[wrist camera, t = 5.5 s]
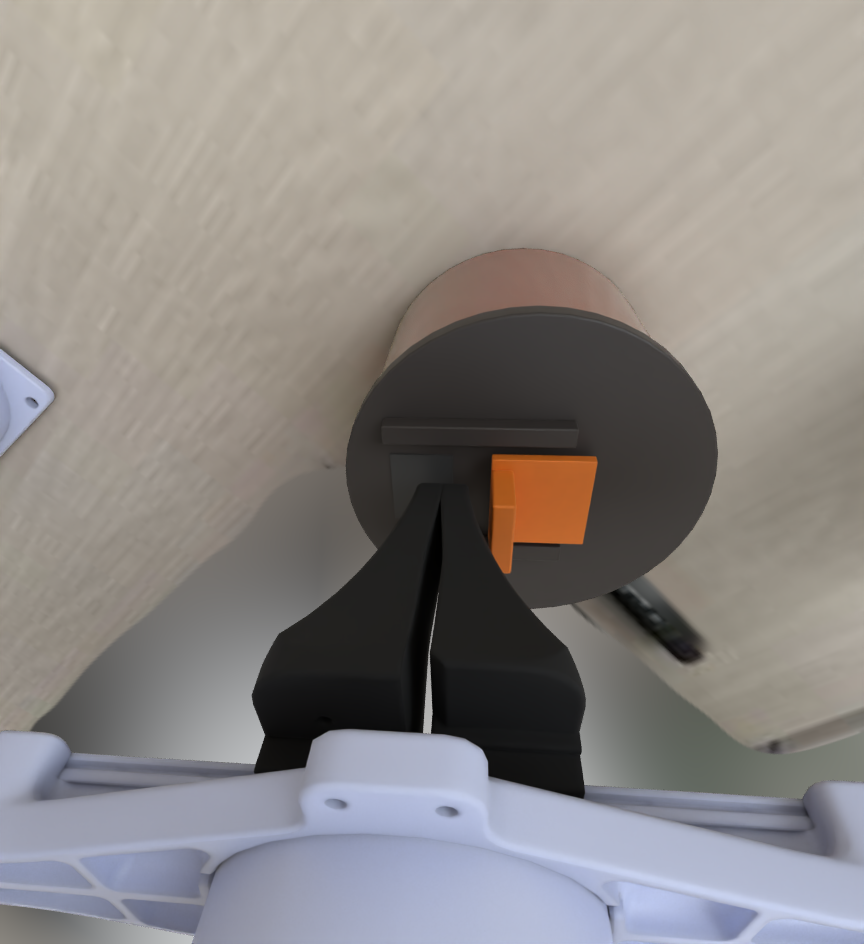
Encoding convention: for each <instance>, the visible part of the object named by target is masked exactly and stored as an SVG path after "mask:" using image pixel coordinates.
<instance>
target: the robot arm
mask: <svg viewBox="0 0 864 944" xmlns="http://www.w3.org/2000/svg"><path fill="white" fill-rule="evenodd" d="M32 398H33V399H35V400H36V402H37V403H36V402H35V401H34V400H33V399H32ZM53 400H54V393H53V392H52V390H51V389H50V388H49V387H48V386H47V385H46V384H44V383H43V382H42V381H41V380H39V379H38V378H37V377H35V376H34V375H33V374H32V373H30V372H29V371H28V370H27V369H25V368H24V367H23V366H22V365H20V364H19V363H18V362H17V361H15V360H14V359H13V358H11V357H10V356H9V355H8V354H6V353H5V352H4V351H3V350H1V349H0V457H1V456H2V455H3V453H4V452H5V451H6V450H7V449H8V448H9V447H10V446H11V445H12V444H13V443H14V442H15V441H16V440H17V439H18V438H19V437H20V436H21V434H22V433H23V432H24V431H25V430H26V429H27V428H28V427H29V426H30V425H31V424H32V423H33V422H34V421H35V420H36V419H37V418H38V417H39V415H40V414H41V413H42V412H43V411H44V410H45V409H46V408H47V407H48V406H49V405H50V404H51V403H52V402H53ZM439 585H440V586H439ZM438 591H439V594H438ZM437 596H438V603H437V610H436V617H435V625H434V630H433V637H432V643H431V649H430V664H431V688H432V709H433V715H432V728H431V734H427V733H423V724H424V708H425V693H426V679H427V666H428V652H429V644H430V636H431V631H432V625H433V619H434V613H435V608H436V602H437ZM252 700H253V705H254V708H255V710H256V713H257V715H258V718H259V720H260V723H261V726H262V728H263V731H264V733H265V738H264V741H263V744H262V747H261V750H260V753H259V756H258V759H257V762H256V764H241V763H225V762H210V761H194V760H193V761H192V760H178V759H162V758H146V757H130V756H115V755H99V754H83V753H71V750H70V748H69V746H68V745H67V743H66V742H65V741H64V740H63V739H61V738H60V737H58V736H56V735H54V734H50V733H44V732H28V731H12V730H5V731H1V732H0V904H4V905H14V906H23V907H30V908H37V909H45V910H53V911H59V912H65V913H71V914H77V915H82V916H89V917H94V918H100V919H105V920H110V921H116V922H121V923H126V924H132V925H137V926H143V927H148V928H153V929H159V930H164V931H169V932H175V933H180V934H186V935H191V936H194V939H193V942H192V944H864V782H855V781H838V780H828V781H821V782H817V783H814V784H813V785H812V786H810V787H809V788H808V789H807V791H806V793H805V794H804V796H803V799H795V798H780V797H764V796H748V795H732V794H716V793H700V792H685V791H669V790H653V789H637V788H620V787H605V786H590V785H589V786H588V785H584V780H583V773H582V766H581V759H580V755H581V752H582V749H581V740H580V733H579V731H580V727H581V723H582V719H583V715H584V711H585V702H586V699H585V693H584V688H583V685H582V682H581V679H580V676H579V673H578V670H577V668H576V665H575V663H574V661H573V658H572V656H571V654H570V652H569V650H568V648H567V647H566V646H565V645H564V644H563V643H562V642H561V641H560V640H559V639H558V638H557V637H556V636H555V635H554V634H553V633H552V632H551V631H550V630H549V629H547V628H546V626H545V625H544V624H543V623H542V622H541V621H540V620H539V619H538V618H537V617H536V616H535V614H534V613H533V612H532V611H531V610H530V608H529V607H528V606H527V605H526V603H525V602H524V601H523V600H522V599H521V597H520V596H519V595H518V594H517V592H516V591H515V590H514V588H513V587H512V585H511V584H510V582H509V581H508V580H507V578H506V576H505V575H504V573H503V572H502V570H501V569H500V567H499V565H498V564H497V562H496V560H495V558H494V556H493V555H492V553H491V551H490V549H489V547H488V545H487V543H486V541H485V539H484V536H483V534H482V532H481V529H480V527H479V525H478V522H477V519H476V517H475V514H474V511H473V507H472V504H471V500H470V495H469V487H468V486H467V485H466V484H450V483H420V484H419V485H418V486H417V488H416V490H415V493H414V495H413V497H412V499H411V501H410V503H409V504H408V506H407V508H406V510H405V511H404V513H403V515H402V516H401V518H400V519H399V521H398V522H397V524H396V525H395V527H394V529H393V530H392V531H391V533H390V534H389V536H388V537H387V538H386V540H385V541H384V542H383V544H382V545H381V546H380V548H379V549H378V550H377V551H376V553H375V554H374V555H373V556H372V557H371V559H370V560H369V561H368V562H367V563H366V564H365V565H364V566H363V568H362V569H361V570H360V571H359V572H358V573H357V574H356V575H355V576H354V577H353V578H352V579H351V580H350V581H349V582H348V583H347V584H346V585H344V586H343V587H342V588H341V589H340V590H339V591H338V592H337V593H336V594H334V595H333V596H332V597H331V598H330V599H328V600H327V601H326V602H324V603H323V604H322V605H321V606H319V607H318V608H317V609H316V610H314V611H313V612H312V613H310V614H309V615H308V616H306V617H305V618H303V619H302V620H300V621H299V622H297V623H295V624H294V625H292V626H291V627H289V628H288V629H286V630H284V631H283V632H281V633H279V635H278V636H277V638H276V640H275V641H274V643H273V645H272V647H271V648H270V650H269V653H268V654H267V656H266V658H265V660H264V662H263V664H262V667H261V670H260V673H259V676H258V678H257V681H256V684H255V687H254V690H253V693H252Z"/></svg>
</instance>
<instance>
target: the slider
mask: <svg viewBox="0 0 864 944" xmlns="http://www.w3.org/2000/svg"><path fill="white" fill-rule="evenodd" d="M597 464H598V462H597V458H596V456H558V455H508V454H492V462H491V484H490V505H489V527H488V541H489V549H490V551H491V553H492V555H493V556H494V558H495V560H496V562H497V564H498V565H499V567H500V569H501V570H502V572H503V573H507V574H508V573H510V572H511V566H512V554H513V542H527V543H558V544H583V539H584V534H585V529H586V523H587V518H588V512H589V507H590V501H591V496H592V491H593V485H594V480H595V474H596V469H597Z"/></svg>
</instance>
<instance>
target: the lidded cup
mask: <svg viewBox="0 0 864 944" xmlns="http://www.w3.org/2000/svg"><path fill="white" fill-rule="evenodd" d="M492 454H508V455H558V456H596V458H597V462H598V464H597V469H596V474H595V480H594V485H593V491H592V496H591V501H590V507H589V512H588V518H587V523H586V529H585V534H584V539H583V544H558V543H527V542H513V554H512V566H511V572H510V573H508V574H507V573H504V575H505V576H506V578H507V580H508V581H509V582H510V584H511V585H512V587H513V588H514V590H515V591H516V592H517V594H518V595H519V596H520V597H521V599H522V600H523V601H524V602H525V603H526V605H527V606H528V607H529V608H530V609H536V608H547V607H556V606H562V605H567V604H573V603H577V602H581V601H585V600H588V599H592V598H595V597H598V596H601V595H603V594H606V593H609V592H612V591H614V590H616V589H618V588H620V587H622V586H624V585H626V584H629V583H631V582H632V581H634V580H636V579H637V578H639V577H641V576H642V575H644V574H646V573H647V572H649V571H650V570H651V569H653V568H654V567H655V566H657V565H658V564H659V563H661V562H662V561H663V560H665V559H666V558H667V557H668V556H669V555H670V554H671V553H672V552H673V551H674V550H675V549H676V548H677V547H678V546H679V545H680V544H681V543H682V542H683V540H684V539H685V538H686V537H687V536H688V534H689V533H690V532H691V531H692V529H693V528H694V526H695V524H696V523H697V521H698V520H699V518H700V516H701V515H702V513H703V511H704V509H705V506H706V504H707V502H708V500H709V497H710V495H711V492H712V488H713V484H714V480H715V476H716V469H717V457H718V449H717V438H716V431H715V427H714V423H713V420H712V416H711V412H710V410H709V408H708V406H707V404H706V402H705V400H704V397H703V395H702V393H701V391H700V390H699V388H698V387H697V386H696V384H695V383H694V381H693V380H692V378H691V377H690V376H689V374H688V373H687V371H686V370H685V369H684V367H683V366H682V365H681V364H680V363H679V362H678V361H677V360H676V359H675V358H674V357H673V356H672V355H671V354H670V353H669V352H668V351H667V350H666V349H665V348H664V347H663V346H661V345H660V344H658V343H657V342H656V341H654V340H653V339H652V338H651V337H650V335H649V334H648V332H647V330H646V329H645V327H644V326H643V324H642V322H641V321H640V319H639V318H638V316H637V315H636V313H635V311H634V310H633V308H632V307H631V305H630V304H629V302H628V301H627V299H626V298H625V297H624V295H623V294H622V293H621V291H620V290H619V289H618V288H617V287H616V286H615V285H614V284H613V283H612V282H611V281H610V280H609V279H608V278H607V277H605V276H604V275H603V274H601V273H600V272H599V271H597V270H596V269H595V268H593V267H591V266H589V265H587V264H586V263H584V262H582V261H580V260H578V259H575V258H572V257H570V256H567V255H564V254H561V253H557V252H552V251H547V250H542V249H527V248H519V249H506V250H500V251H495V252H490V253H485V254H482V255H480V256H477V257H474V258H471V259H468V260H466V261H464V262H462V263H460V264H458V265H456V266H454V267H452V268H450V269H449V270H447V271H446V272H444V273H443V274H442V275H440V276H439V277H437V278H436V279H435V280H433V281H432V282H431V283H430V284H429V285H428V286H427V287H426V288H425V289H424V290H423V291H422V292H421V293H420V294H419V295H418V296H417V298H416V299H415V300H414V301H413V302H412V304H411V305H410V306H409V308H408V310H407V311H406V313H405V314H404V316H403V318H402V320H401V322H400V324H399V326H398V329H397V331H396V333H395V336H394V339H393V342H392V345H391V348H390V351H389V354H388V357H387V360H386V363H385V366H384V369H383V372H382V374H381V376H380V377H379V378H378V379H377V380H376V381H375V383H374V385H373V386H372V388H371V389H370V391H369V392H368V394H367V396H366V397H365V399H364V401H363V403H362V405H361V408H360V410H359V412H358V414H357V417H356V419H355V422H354V424H353V427H352V431H351V435H350V439H349V443H348V447H347V458H346V477H347V486H348V491H349V495H350V499H351V503H352V506H353V508H354V511H355V513H356V516H357V518H358V520H359V522H360V524H361V526H362V528H363V529H364V531H365V533H366V534H367V536H368V537H369V539H370V540H371V541H372V542H373V544H374V545H375V546H376V548H377V549H379V548H380V546H381V545H382V544H383V542H384V541H385V540H386V538H387V537H388V536H389V534H390V533H391V531H392V530H393V529H394V527H395V525H396V524H397V522H398V521H399V519H400V518H401V516H402V515H403V513H404V511H405V510H406V508H407V506H408V504H409V503H410V501H411V499H412V497H413V495H414V493H415V490H416V488H417V486H418V485H419V484H420V483H450V484H466V485H467V486H468V487H469V495H470V500H471V504H472V507H473V511H474V514H475V517H476V519H477V522H478V525H479V527H480V529H481V532H482V534H483V536H484V539H485V541H486V543H487V545H488V547H489V541H488V527H489V505H490V484H491V462H492ZM439 586H440V585H439ZM438 592H439V591H438Z"/></svg>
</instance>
